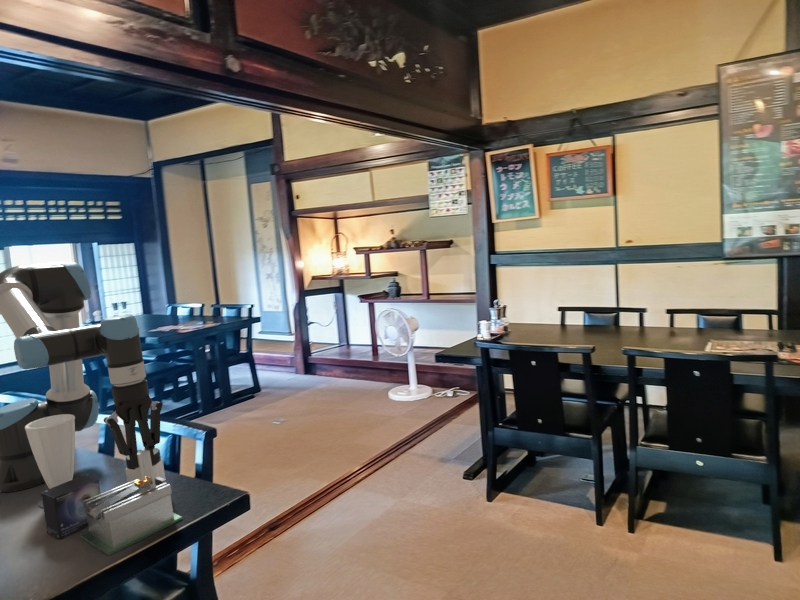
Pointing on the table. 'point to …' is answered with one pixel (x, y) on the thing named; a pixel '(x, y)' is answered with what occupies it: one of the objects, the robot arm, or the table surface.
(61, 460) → the cup
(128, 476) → the jar
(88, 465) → the table surface
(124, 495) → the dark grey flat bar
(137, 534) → the heatsink
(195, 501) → the table surface
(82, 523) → the small box
